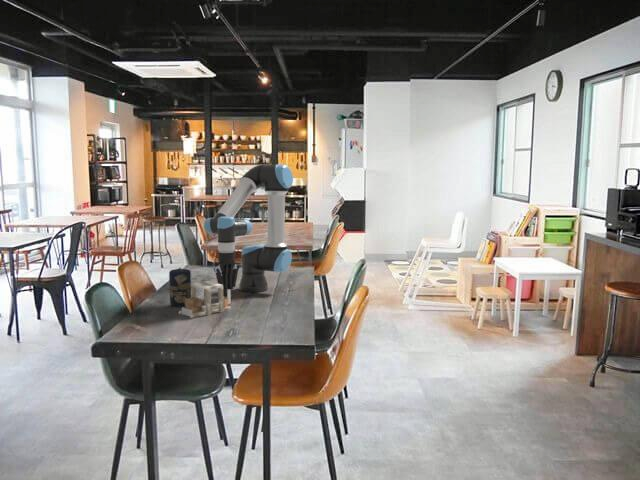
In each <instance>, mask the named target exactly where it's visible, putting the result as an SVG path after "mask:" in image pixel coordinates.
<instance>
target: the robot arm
mask: <svg viewBox="0 0 640 480" xmlns="http://www.w3.org/2000/svg"><path fill="white" fill-rule="evenodd" d="M293 183H294V176H293V172H292V170H291V168H290V167H289V166H288V165H286V164H280V163H278V164H258V165H255V166H253V167H252V168H250V169H249V170H247V172H245V173H244V174H243V175H242V177H240V179H239V181H238V185H237V186H236V187H235V188H234V190H233V192H232V193H231V194H230V196H229V197H228V198H227V199H226V201H225V202H224V203H223V205H222V206H221V207H220V209H219V210H218V211H217V212H216V214H215V215H214V216H213V217H208V218H206V219H205V220H204V223H203V228H204V231H205V232H206V233H207V234H211V235H217V250H218V252H217V259H218V264H217V266H216V267H214V268H213V271H214V272H215V276H216V280H217V283H218V284H222V285H223V298H227V299H228V305H229V304H231V301H232V300H231V297H232V295H233V292H232V291H233V289H234V288H235V287H236V285H237V278H238V273H239V269H240V265H238V264H236V252H235V251H236V238H237V237H241V236H243V237H244V236H246V235H249V234H250V233H251V231H252V223H251V221H250V220H249V219H247V218H238V219H235V216H236V214H238V212H239V211H240V209H241V208H242V207H243V206H244V204H245V203H246V201H247V200H248V199H249V197H250V196H251V195H252V194H254V193H255V192H256V191H257V190H258V189H261V188H262V189H263V188H264V192H265V194H267V237H266V238H267V242H266V243H264V244H254V245H252V244H251V245H246V246H243V247H242V249H241V278H240V282H239V284H238V291H241V292H245V293H259V292H265V291H267V290H268V289H269V284H268V282H267V281H268V280H267V279H266V275H265V274H266V273H265V271H266V272H274V273H285V272H286V271H287V270H288V269H289V268H290V267H291V264H292V260H293V255H292V252H291V250H289V249H288V244H287V243H286V242H285V231H286V230H285V228H286V227H285V222H286V219H285V218H286V217H285V215H286V209H285V208H286V194H288V192H289V189H290V188H292V186H293Z"/></svg>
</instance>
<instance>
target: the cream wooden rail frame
mask: <svg viewBox="0 0 640 480" xmlns="http://www.w3.org/2000/svg"><path fill="white" fill-rule="evenodd" d="M197 288H198V289H203V302H204V305H201V306H202V307H205V309H206V312H201V313H196V314H192V315H190V316H189V318H191V319H192V318H197V317H202V316H211V315H212V314H215V313H216V314H217V313H224V312H225V311H229V310H232V306H229V305H228V307H224V299H223V298H224V296H223V285H222V284H218V282H214V281H208V280H204V281H198V282H191V297H197ZM213 289H217V291H218V293H217V294H218V295H217V296H218V302H216V303H212V290H213ZM215 306H219V309H215V310H211V307H215ZM178 315H183V314H182V310H179V311H178Z"/></svg>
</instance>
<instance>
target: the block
mask: <svg viewBox="0 0 640 480" xmlns="http://www.w3.org/2000/svg"><path fill="white" fill-rule="evenodd" d="M201 306H202V298H200V297H197V296H196V297H192V296H191V297H190V298H185V306H184V308H187V309H190V310H192V313H195V312H200V311H201Z"/></svg>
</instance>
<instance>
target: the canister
mask: <svg viewBox="0 0 640 480" xmlns="http://www.w3.org/2000/svg"><path fill="white" fill-rule="evenodd" d="M168 273H169V274H168V277H169V280H168V281H169V282H168V283H169V305H170V306H171V307H176V308H177V307H178V308H179V307H181V308H182V307H185V298H190V297H192V292H191V286H192V285H191V283H192V281H191V280H192V275H191V274H192V273H191V270H190V269H187V268H181V267H179V268H175V269H170V270H169V272H168Z"/></svg>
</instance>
